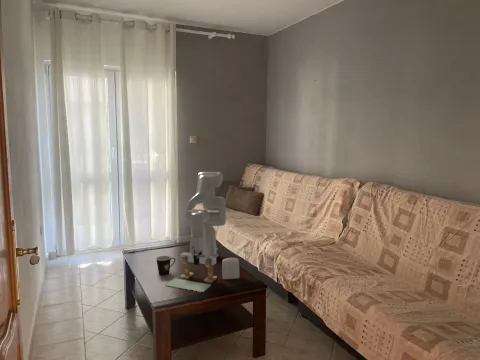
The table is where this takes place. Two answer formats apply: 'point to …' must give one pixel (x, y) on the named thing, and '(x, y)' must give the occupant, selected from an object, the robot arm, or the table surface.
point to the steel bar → (201, 258)
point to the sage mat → (188, 285)
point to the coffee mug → (164, 265)
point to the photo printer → (230, 268)
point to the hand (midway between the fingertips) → (198, 262)
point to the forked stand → (189, 274)
